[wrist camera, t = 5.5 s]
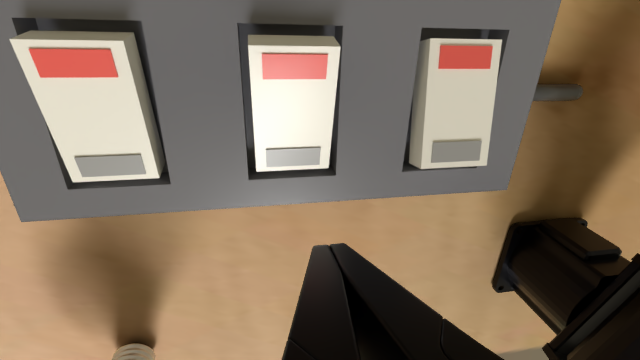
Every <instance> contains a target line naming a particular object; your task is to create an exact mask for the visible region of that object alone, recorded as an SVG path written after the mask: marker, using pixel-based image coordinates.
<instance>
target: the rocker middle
mask: <svg viewBox="0 0 640 360" xmlns="http://www.w3.org/2000/svg"><path fill="white" fill-rule="evenodd" d="M340 48H341V46H340V45H339V43H338V42H337V41H336V39H335V38H334V36H295V35H248V52H249V67H250V83H251V98H252V113H253V128H254V144H255V159H256V172H261V171H281V170H301V169H322V168H329V158H330V148H331V138H332V128H333V118H334V108H335V98H336V88H337V78H338V68H339V58H340Z"/></svg>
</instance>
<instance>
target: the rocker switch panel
mask: <svg viewBox="0 0 640 360" xmlns="http://www.w3.org/2000/svg"><path fill="white" fill-rule="evenodd" d="M560 3H561V0H0V171H1V174H2V176H3V179H4V181H5V184H6V186H7V189H8V191H9V193H10V196H11V198H12V201H13V203H14V206H15V208H16V211H17V213H18V215H19V218H20V220H21V222H30V221H45V220H60V219H75V218H90V217H105V216H120V215H135V214H151V213H166V212H181V211H196V210H211V209H226V208H241V207H256V206H271V205H286V204H301V203H316V202H331V201H346V200H361V199H376V198H391V197H406V196H421V195H436V194H451V193H466V192H481V191H496V190H507V188H508V184H509V181H510V177H511V174H512V170H513V167H514V163H515V160H516V156H517V153H518V149H519V146H520V142H521V139H522V135H523V132H524V128H525V125H526V121H527V118H528V114H529V111H530V107H531V104H532V101H572V100H576V99H578V98H580V97H581V96H582V94H583V89H582V87H581V86H580V85H577V84H537V83H538V79H539V76H540V72H541V69H542V65H543V62H544V58H545V55H546V51H547V48H548V44H549V41H550V37H551V34H552V30H553V27H554V23H555V20H556V16H557V13H558V9H559V6H560ZM30 30H35V31H88V32H134V35H135V39H136V43H137V47H138V51H139V55H140V60H141V64H142V68H143V72H144V76H145V80H146V84H147V88H148V92H149V97H150V101H151V105H152V109H153V113H154V117H155V121H156V125H157V129H158V134H159V138H160V142H161V146H162V150H163V154H164V158H165V165H164V167H163V170H162V173H161V175H160V178H151V179H131V180H111V181H91V182H73V181H72V179H71V177H70V175H69V172H68V170H67V168H66V166H65V163H64V161H63V159H62V157H61V155H60V152H59V150H58V148H57V146H56V143H55V141H54V139H53V137H52V134H51V132H50V130H49V128H48V125H47V123H46V121H45V119H44V116H43V114H42V112H41V110H40V107H39V105H38V103H37V101H36V98H35V96H34V94H33V92H32V89H31V87H30V85H29V83H28V80H27V78H26V76H25V74H24V71H23V69H22V67H21V65H20V62H19V60H18V58H17V56H16V53H15V51H14V49H13V47H12V44H11V42H10V40H9V39H11V38H13V37H16V36H18V35H20V34H23V33H25V32H28V31H30ZM248 35H295V36H334V38H335V39H336V41H337V42H338V43H339V45H340V46H341V48H340V58H339V68H338V78H337V88H336V98H335V108H334V118H333V128H332V138H331V148H330V158H329V168H322V169H301V170H281V171H261V172H256V159H255V144H254V128H253V113H252V98H251V83H250V67H249V52H248ZM430 38H441V39H494V40H502V45H501V53H500V61H499V69H498V77H497V86H496V94H495V102H494V110H493V118H492V126H491V134H490V142H489V150H488V159H487V166H468V167H449V168H430V169H420V168H418V167H416V166H414V165H412V164H410V163H409V152H410V136H411V120H412V104H413V88H414V81H415V74H416V66H417V59H418V52H419V44H420V41H423V40H426V39H430Z"/></svg>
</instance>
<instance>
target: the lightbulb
mask: <svg viewBox="0 0 640 360" xmlns="http://www.w3.org/2000/svg"><path fill="white" fill-rule="evenodd" d="M112 360H155V353H154V351H153V350H152V349H151V348H150V347H148V346H146V345H143V344H138V343H132V344H127V345H124V346H122V347H120V348H119V349H117V350H116V352H115V353H114V355H113V359H112Z"/></svg>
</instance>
